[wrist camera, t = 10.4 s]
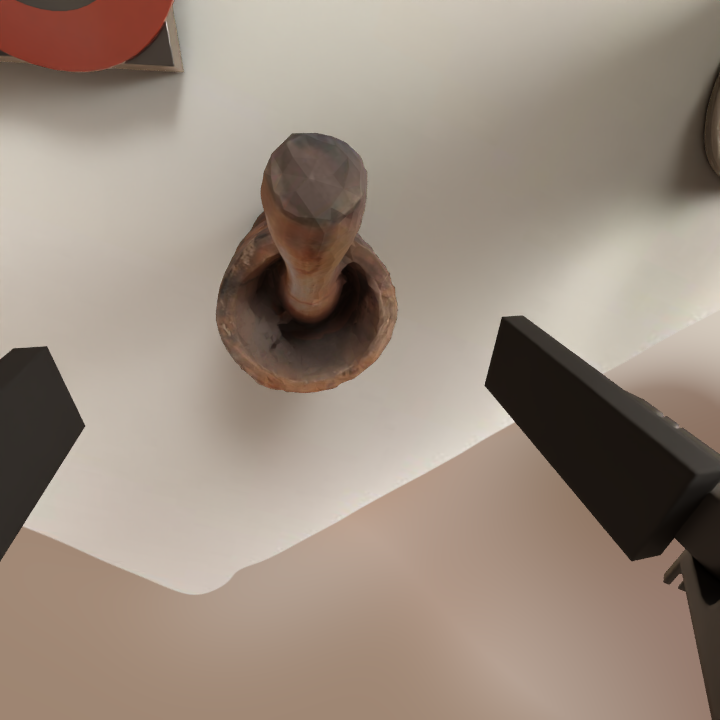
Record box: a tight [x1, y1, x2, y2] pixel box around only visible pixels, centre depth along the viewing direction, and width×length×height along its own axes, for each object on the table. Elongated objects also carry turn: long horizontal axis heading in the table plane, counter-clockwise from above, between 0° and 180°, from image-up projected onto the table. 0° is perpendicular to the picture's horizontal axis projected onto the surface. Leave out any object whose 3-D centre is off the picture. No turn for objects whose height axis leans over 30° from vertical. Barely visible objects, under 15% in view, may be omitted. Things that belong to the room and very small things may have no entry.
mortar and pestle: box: [216, 133, 398, 393], centre depth 19 cm, size 12×9×20 cm
